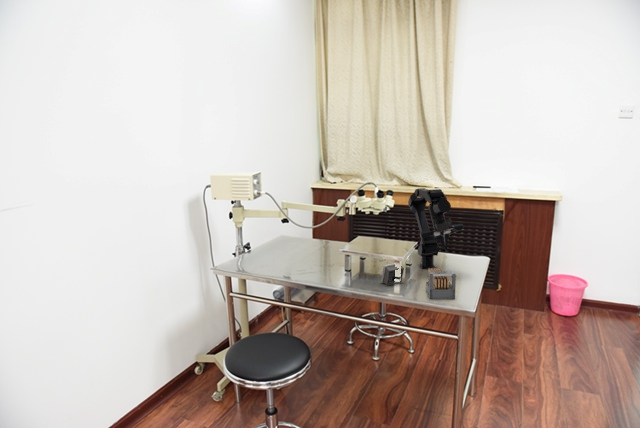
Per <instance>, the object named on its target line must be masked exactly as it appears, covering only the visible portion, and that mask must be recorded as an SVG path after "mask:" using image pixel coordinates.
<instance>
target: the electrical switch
mask: <svg viewBox="0 0 640 428" xmlns="http://www.w3.org/2000/svg"><path fill="white" fill-rule="evenodd" d="M395 263H396V262H395ZM395 263H389V264H384V265H383V267H382V272H381V279H380V283H382V284H385V285H386V286H391V285H394V279H395V270H398V269H399V268H397V267H395ZM404 271H405V267H404V266H403V265H402V266H401V273H400V274H401V281H400V282H402V280H403V275H404Z"/></svg>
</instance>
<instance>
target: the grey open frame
mask: <svg viewBox="0 0 640 428" xmlns="http://www.w3.org/2000/svg"><path fill="white" fill-rule="evenodd" d="M428 276H429V283H428V281H426V282H425V292H426V294H427V296H428V299H429V300H455V299H456V284H457V283H456V280H457V279H456V277H457V275H456V273H453V272H452V271H444V272H431V274H429V273H428ZM433 276H447V277H451V282H450V281H449V289H433Z"/></svg>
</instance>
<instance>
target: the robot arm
mask: <svg viewBox="0 0 640 428" xmlns="http://www.w3.org/2000/svg"><path fill="white" fill-rule="evenodd" d="M407 203H408V204H407V205H408V207H409V209H410V211H411V212H412V214H414V215H415V219H416V221H417V222H416V223H417V225H418V226H417V227H418V229H419V236H420V239H421V240H420V243H419V246H418V248H417V255H419V256H420V257H421V263H419V266H420V267H421V270H424V269H426V270H429V268H430V269H431V268H433V269H434V268H436V266H435V265H434V256H438V255H439V251H440V246H439V244H440V245H441V246H442V248H443V249H444V251H447V250H448V243H449V236H450V235H452V232H460V231H464V229H465V228H464V225H463V223H457V224H453V222H452V218H451V217H450V218H446V217H445V214H446V213H448V212H449V211H450V210H451V209H452V208H451V207H452V204H451V203H450V201H448V198H447V196H446V195H445V193H444V191H443V190H442V189H440V188H438V189H428V188H424V187H423V188H422V187H421V188H415V190H414V192H413V193H412V194H410V196H409V198H408V202H407ZM427 203H429V204H428V207H427ZM426 207H427V209H428V210H429V214H430V219H431V222H432V226H433V230H431V229H430V227H429V223H428V219H427V216H426V212H425V209H426ZM442 234H443V236H442ZM437 240H438V241H437ZM438 242H439V243H438Z"/></svg>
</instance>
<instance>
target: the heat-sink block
mask: <svg viewBox="0 0 640 428" xmlns="http://www.w3.org/2000/svg"><path fill="white" fill-rule="evenodd" d="M431 272H445V271H444V270H443V268H442V267H437V268H436V267H435V268H434V269H433V268H431V269H430V268H429V269H428V276H427V277H428V280H427V282H428V283H429V274H431ZM449 282H450V278H449V276H433V289H449Z"/></svg>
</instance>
